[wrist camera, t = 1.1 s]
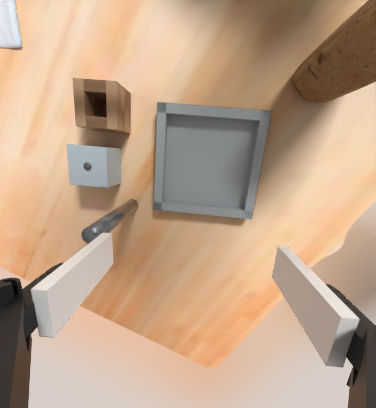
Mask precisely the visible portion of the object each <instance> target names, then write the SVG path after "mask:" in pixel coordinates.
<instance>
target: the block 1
mask: <svg viewBox="0 0 376 408" xmlns="http://www.w3.org/2000/svg"><path fill="white" fill-rule="evenodd" d="M67 155H68V166H69V178H70V184H72V185H82V186H93V187H104V188H109V187H112V186H114V185H117V184H120V183H121V148H109V147H98V146H86V145H73V144H67Z"/></svg>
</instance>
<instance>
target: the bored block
mask: <svg viewBox="0 0 376 408" xmlns="http://www.w3.org/2000/svg"><path fill="white" fill-rule="evenodd" d="M73 90H74V104H75V118H76V126H78V127H82V128H87V129H91V130H96V131H107V132H119V133H130V124H131V93H129V92H128V91H127V90H126V89H125V88H124V87H123V86H121V85H120V84H119V83H118V82H117V81H106V80H92V79H79V78H73ZM103 101H104V102H106V104H107V117H104V115H103Z"/></svg>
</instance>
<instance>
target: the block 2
mask: <svg viewBox="0 0 376 408" xmlns="http://www.w3.org/2000/svg"><path fill="white" fill-rule="evenodd" d="M293 81H294V83H295V85H296V88H297V89H298V91H299V92H300V94H301V95H302V96H303V97H304V98H306V99H308V100H314V101H316V102H322V103H324V102H328V101H331V100H333V99H336V98H338V97H341V96H343V95H345V94H348V93H350V92H353V91H355V90H358V89H360V88H362V87H364V86H367V85H369V84H371V83H373V82H375V81H376V0H368V1H367V2H366V3H365V4H364V5H363V6H362V7H361V8H360V9H359V10H357V11H356V12H355V13H354V14H353V15H352V16H351V17H350V18H349V19H347V20H346V21H345V22H344V23H343V24H342V25H341V26H340V27H339V28H338V29H337V30H336V31H335V32H333V33H332V34H331V35H330V36H329V37H328V38H327V39H326V40H325V41H324V42H323V43H322V44H321V45H320V46H319V47H318V48H317V49H316V50H315V51H314V52H313V53H312V54H311V55H310V56H309V57H308V58H307V59H306V60H305V61H304V62H303V63H302V64H301V65H300V66H299V67H298V69H297V70H296V71H295V73H294V76H293Z"/></svg>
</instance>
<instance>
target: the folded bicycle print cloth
mask: <svg viewBox="0 0 376 408" xmlns="http://www.w3.org/2000/svg"><path fill="white" fill-rule="evenodd" d="M0 48H13V49H14V48H22V41H21V35H20V29H19V23H18V16H17V8H16V1H15V0H0Z"/></svg>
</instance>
